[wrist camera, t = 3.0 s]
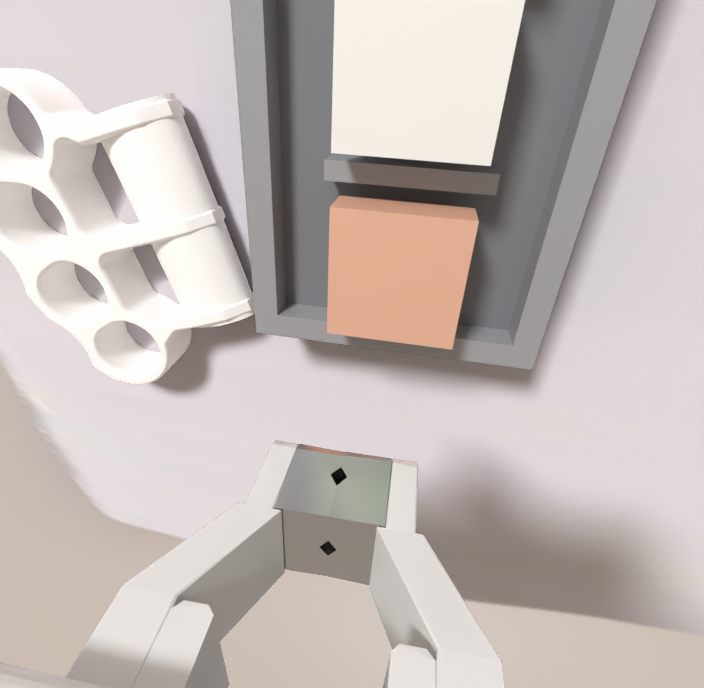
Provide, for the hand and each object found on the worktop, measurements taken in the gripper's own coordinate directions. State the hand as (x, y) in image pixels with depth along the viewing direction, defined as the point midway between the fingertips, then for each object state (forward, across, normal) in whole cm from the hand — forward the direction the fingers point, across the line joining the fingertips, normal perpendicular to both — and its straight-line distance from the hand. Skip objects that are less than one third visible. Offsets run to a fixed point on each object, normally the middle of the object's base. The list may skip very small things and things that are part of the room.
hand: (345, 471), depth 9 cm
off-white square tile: (+12, 0, -8) cm, 14 cm away
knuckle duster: (+17, +16, +2) cm, 24 cm away
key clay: (+12, 0, 0) cm, 12 cm away
